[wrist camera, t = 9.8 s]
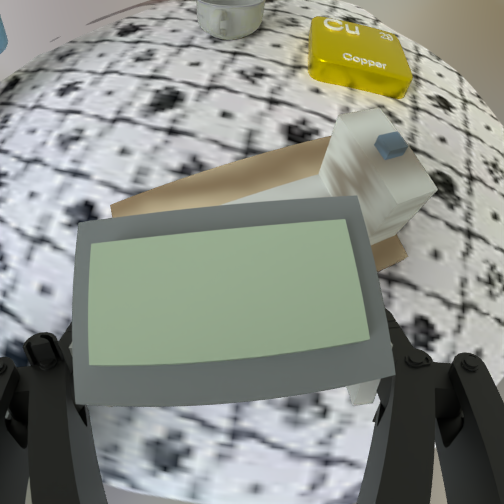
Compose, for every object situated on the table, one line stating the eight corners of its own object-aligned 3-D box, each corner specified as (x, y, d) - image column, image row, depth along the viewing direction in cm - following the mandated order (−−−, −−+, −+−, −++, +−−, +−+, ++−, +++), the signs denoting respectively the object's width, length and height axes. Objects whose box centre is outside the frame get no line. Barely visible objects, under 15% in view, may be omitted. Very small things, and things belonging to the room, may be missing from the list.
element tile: (307, 81, 41) (312, 55, 36) (308, 33, 46) (312, 11, 42) (406, 103, 40) (417, 81, 36) (390, 51, 46) (397, 31, 41)
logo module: (163, 305, 19) (69, 212, 8) (298, 292, 19) (363, 184, 8) (169, 390, 17) (64, 405, 6) (310, 376, 17) (406, 373, 7)
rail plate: (113, 209, 32) (69, 143, 22) (333, 140, 36) (358, 67, 26) (153, 359, 27) (101, 349, 16) (403, 259, 31) (463, 208, 20)
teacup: (217, 14, 47) (216, -21, 40) (273, 25, 46) (276, -13, 39) (176, 50, 43) (169, 9, 35) (239, 62, 41) (239, 17, 34)
